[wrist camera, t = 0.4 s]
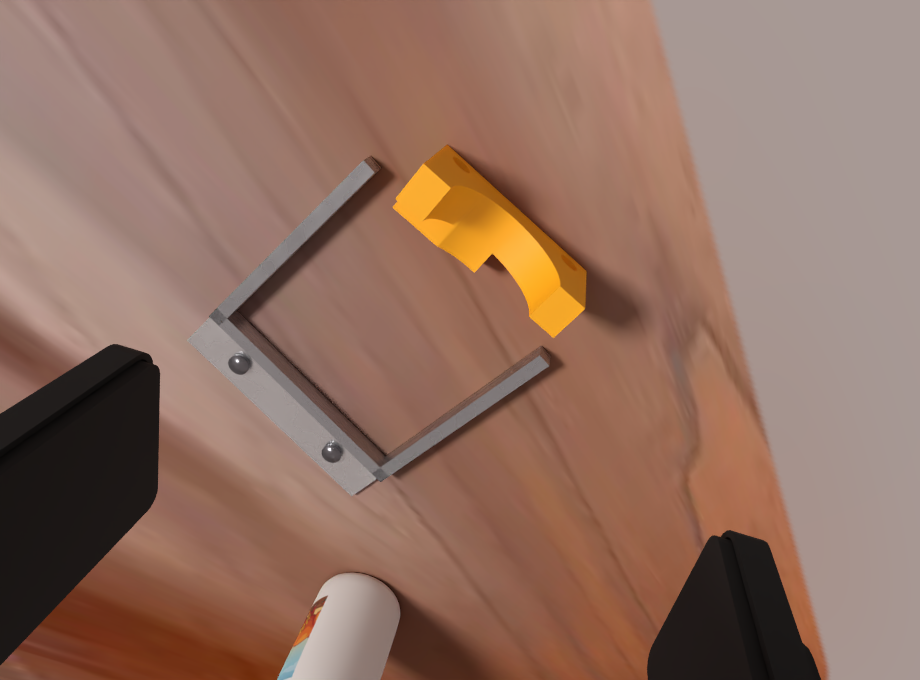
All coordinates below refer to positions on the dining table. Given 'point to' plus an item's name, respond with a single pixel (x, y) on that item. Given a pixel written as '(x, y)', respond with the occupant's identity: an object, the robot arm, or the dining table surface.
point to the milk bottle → (345, 631)
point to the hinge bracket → (303, 404)
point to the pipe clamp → (493, 236)
